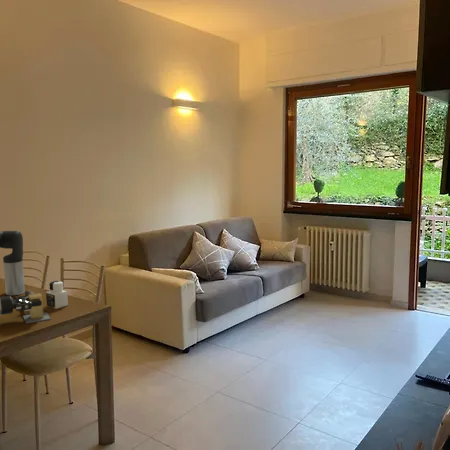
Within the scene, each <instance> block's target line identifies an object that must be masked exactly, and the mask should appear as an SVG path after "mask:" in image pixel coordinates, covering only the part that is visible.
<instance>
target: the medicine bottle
mask: <svg viewBox="0 0 450 450" xmlns="http://www.w3.org/2000/svg"><path fill="white" fill-rule="evenodd" d="M48 285H49V291H46V292H45V297H46V307H48V308H52V309H53V310H57V309H59V308H65V307H67V306H69V301H68V300H69V299H68V296H69V295H68V291H67V290H64V282H63V281H61V280H53V281H51V282H50V283H48Z"/></svg>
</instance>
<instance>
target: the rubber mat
mask: <svg viewBox="0 0 450 450" xmlns="http://www.w3.org/2000/svg"><path fill="white" fill-rule="evenodd" d="M22 317H23V320H24V322H25V324H32V323H40V322H46V321H51V317H50V315H49V314H48V311H44V312H43V317H44V318H39V319H33V320H31V318H30V315H23V316H22Z"/></svg>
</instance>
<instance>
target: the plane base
mask: <svg viewBox="0 0 450 450" xmlns="http://www.w3.org/2000/svg"><path fill="white" fill-rule="evenodd" d="M31 294H35V292H33V291H32V290H31V289H29V290H25V293H24V295H27V296H28V295H31ZM22 311H23V314H24V316H26V315H30V312H29V309H28V310H22ZM44 312H45V311H44V307H43V313H44Z"/></svg>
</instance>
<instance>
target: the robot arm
mask: <svg viewBox="0 0 450 450" xmlns="http://www.w3.org/2000/svg"><path fill="white" fill-rule="evenodd" d="M0 249H11V250H12V251H11V253H10V254H7V255H4V256H3V257H2V259H3V261H2V262H3V272H4V286H5V295H6V296H0V316H3V315H9V314H10V315H11V314H12V313H13V309H14V310H15V311H16V312H19V311H23V310H28V309H32V307H35V306H41V305H42V302H43V300H42V301H41V300H39V301H32V302H29V298H28V296H27V295H25V291H26V288H25V274H24V261H23V258H24V257H23V256H24V238H23V234H22V232H21V231H20V230H2V231H0ZM19 295H20V296H19ZM12 296H13V297H12Z"/></svg>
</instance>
